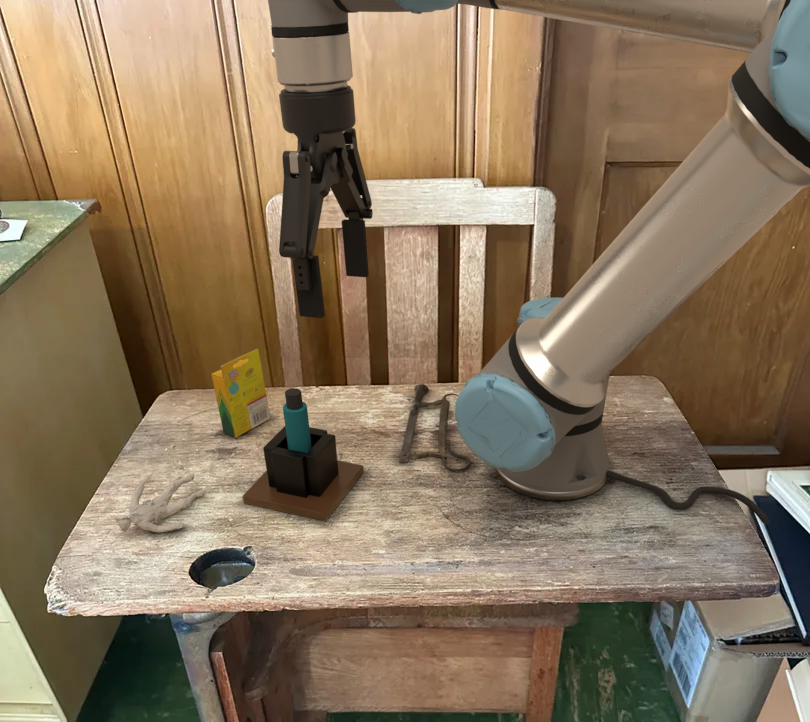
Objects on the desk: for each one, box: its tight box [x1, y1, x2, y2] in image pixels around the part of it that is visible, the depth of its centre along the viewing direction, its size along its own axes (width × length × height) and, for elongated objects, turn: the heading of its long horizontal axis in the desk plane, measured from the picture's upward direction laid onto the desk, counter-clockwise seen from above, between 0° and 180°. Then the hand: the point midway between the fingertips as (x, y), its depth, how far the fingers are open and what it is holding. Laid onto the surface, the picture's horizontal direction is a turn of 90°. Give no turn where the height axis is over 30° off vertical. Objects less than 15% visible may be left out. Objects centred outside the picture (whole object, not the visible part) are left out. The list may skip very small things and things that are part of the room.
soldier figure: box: [114, 472, 206, 535], centre depth 96 cm, size 8×5×12 cm
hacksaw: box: [398, 383, 472, 473], centre depth 113 cm, size 24×10×2 cm, turn 173°
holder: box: [242, 425, 365, 522], centre depth 100 cm, size 12×12×7 cm
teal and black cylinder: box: [282, 387, 312, 453], centre depth 97 cm, size 3×3×13 cm
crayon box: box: [210, 348, 271, 439], centre depth 112 cm, size 7×3×12 cm, turn 141°
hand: (336, 295), depth 89 cm, fingers open, 13 cm apart
